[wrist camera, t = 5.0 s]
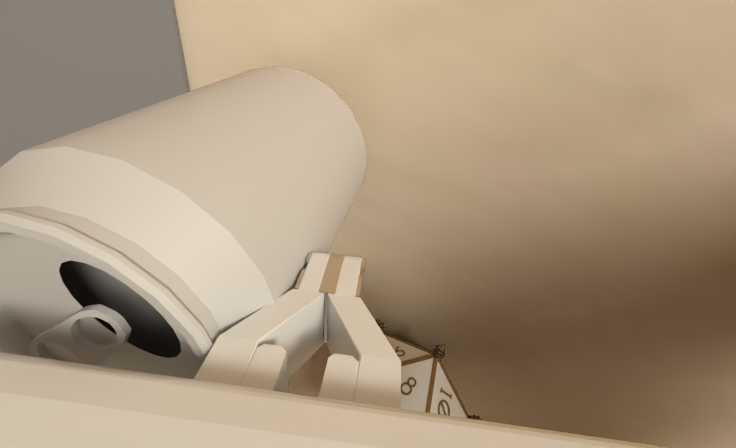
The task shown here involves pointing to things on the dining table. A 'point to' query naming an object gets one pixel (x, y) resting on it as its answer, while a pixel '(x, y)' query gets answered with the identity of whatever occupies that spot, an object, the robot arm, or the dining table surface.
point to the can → (173, 221)
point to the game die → (425, 380)
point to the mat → (82, 65)
